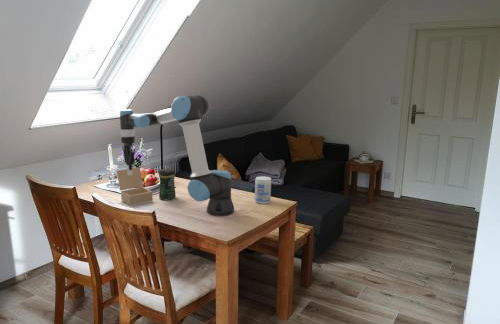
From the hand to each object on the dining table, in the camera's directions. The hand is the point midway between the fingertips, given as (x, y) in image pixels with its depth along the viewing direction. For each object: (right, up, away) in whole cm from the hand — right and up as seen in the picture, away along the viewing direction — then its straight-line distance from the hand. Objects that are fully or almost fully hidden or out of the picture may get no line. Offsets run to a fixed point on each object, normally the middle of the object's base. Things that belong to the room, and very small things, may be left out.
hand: (129, 175), depth 234 cm
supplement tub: (+80, -16, 0) cm, 81 cm away
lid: (0, -2, +1) cm, 2 cm away
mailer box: (+5, -15, -3) cm, 16 cm away
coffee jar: (+22, -15, +4) cm, 26 cm away
